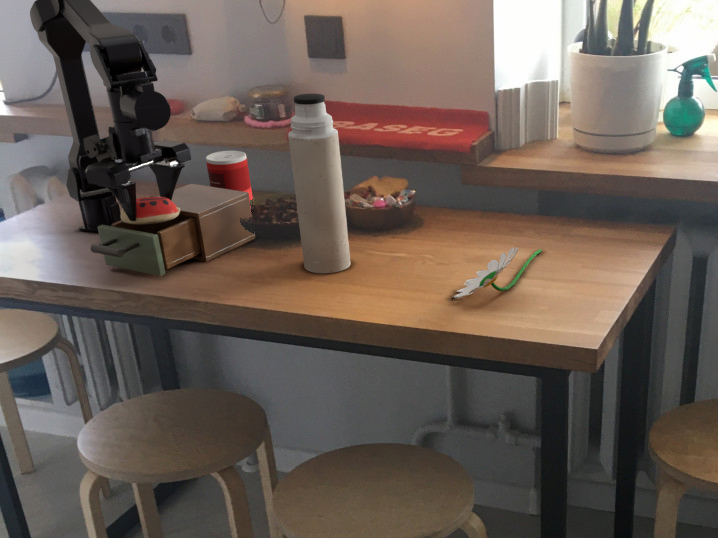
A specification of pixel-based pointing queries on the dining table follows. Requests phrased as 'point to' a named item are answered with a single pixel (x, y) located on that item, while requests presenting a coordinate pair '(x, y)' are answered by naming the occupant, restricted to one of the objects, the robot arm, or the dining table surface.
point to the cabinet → (215, 217)
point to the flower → (493, 274)
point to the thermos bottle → (318, 186)
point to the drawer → (149, 244)
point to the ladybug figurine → (152, 211)
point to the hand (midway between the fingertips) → (150, 213)
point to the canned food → (229, 171)
